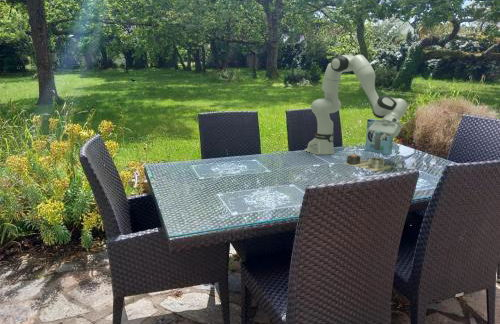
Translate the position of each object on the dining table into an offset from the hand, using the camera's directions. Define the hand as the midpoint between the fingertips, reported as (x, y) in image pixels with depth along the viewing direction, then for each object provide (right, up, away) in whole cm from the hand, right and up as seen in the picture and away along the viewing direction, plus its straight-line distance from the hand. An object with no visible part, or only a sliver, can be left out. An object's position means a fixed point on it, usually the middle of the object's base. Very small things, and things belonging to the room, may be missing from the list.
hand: (377, 139), depth 252 cm
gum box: (+16, -7, +50) cm, 53 cm away
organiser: (-3, -16, +11) cm, 20 cm away
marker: (+1, -6, +2) cm, 6 cm away
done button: (-11, -11, +13) cm, 20 cm away
